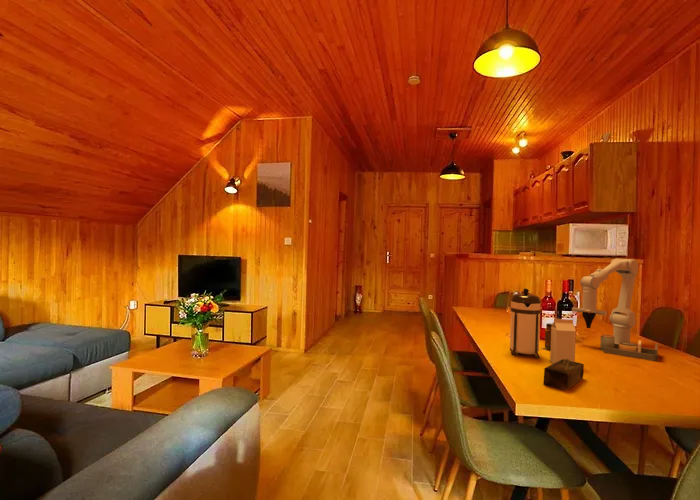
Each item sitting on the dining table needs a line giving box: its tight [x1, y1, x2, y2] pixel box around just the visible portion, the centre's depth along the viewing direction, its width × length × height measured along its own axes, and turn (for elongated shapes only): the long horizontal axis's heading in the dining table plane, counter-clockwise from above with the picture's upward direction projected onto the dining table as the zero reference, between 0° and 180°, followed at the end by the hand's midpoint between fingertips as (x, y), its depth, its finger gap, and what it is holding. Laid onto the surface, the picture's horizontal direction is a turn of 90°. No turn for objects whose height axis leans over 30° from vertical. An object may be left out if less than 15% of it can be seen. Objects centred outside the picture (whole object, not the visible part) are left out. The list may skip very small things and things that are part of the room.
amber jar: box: [619, 341, 638, 352], centre depth 176 cm, size 7×7×5 cm
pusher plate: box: [637, 339, 643, 353], centre depth 173 cm, size 10×1×6 cm, turn 140°
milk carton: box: [549, 318, 577, 364], centre depth 156 cm, size 7×7×19 cm
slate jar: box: [600, 334, 615, 352], centre depth 181 cm, size 6×6×7 cm
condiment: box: [541, 322, 553, 351], centre depth 180 cm, size 7×8×12 cm
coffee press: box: [509, 288, 542, 359], centre depth 172 cm, size 17×16×30 cm
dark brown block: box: [543, 359, 585, 392], centre depth 136 cm, size 8×19×7 cm, turn 133°
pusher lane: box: [603, 343, 659, 362], centre depth 175 cm, size 13×20×5 cm, turn 50°
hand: (588, 327), depth 186 cm, fingers closed
